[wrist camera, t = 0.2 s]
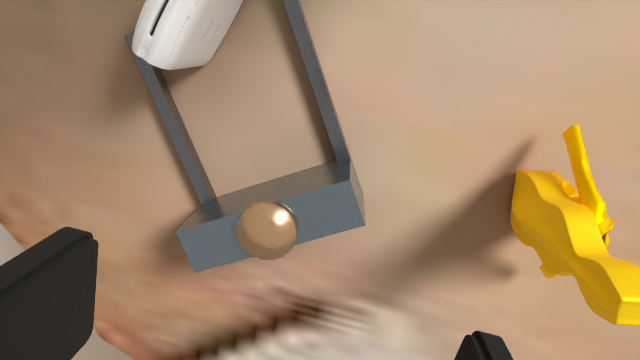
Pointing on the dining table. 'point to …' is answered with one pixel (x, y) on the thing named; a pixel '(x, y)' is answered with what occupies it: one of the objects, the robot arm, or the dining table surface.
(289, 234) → the motor mount
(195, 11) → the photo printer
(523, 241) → the figure statuette
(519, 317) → the dining table surface
